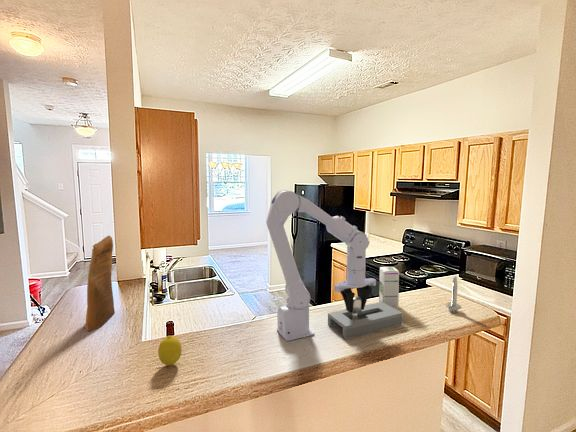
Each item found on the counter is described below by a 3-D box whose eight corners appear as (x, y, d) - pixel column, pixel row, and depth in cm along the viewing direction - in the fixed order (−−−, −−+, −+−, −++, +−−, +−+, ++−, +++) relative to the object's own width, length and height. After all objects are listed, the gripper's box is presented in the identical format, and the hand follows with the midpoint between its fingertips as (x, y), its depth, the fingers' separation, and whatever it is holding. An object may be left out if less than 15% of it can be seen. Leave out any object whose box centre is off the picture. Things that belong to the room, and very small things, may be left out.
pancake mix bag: (124, 307, 114) (119, 234, 110) (101, 332, 95) (93, 244, 92) (105, 309, 113) (99, 234, 109) (77, 334, 94) (69, 245, 91)
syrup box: (398, 309, 110) (400, 270, 108) (382, 309, 110) (383, 270, 109) (393, 303, 116) (395, 266, 114) (378, 303, 116) (379, 266, 114)
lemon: (174, 356, 82) (173, 328, 81) (186, 364, 78) (185, 334, 77) (155, 366, 77) (153, 336, 77) (166, 375, 74) (164, 344, 73)
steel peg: (353, 328, 95) (353, 301, 94) (345, 323, 98) (346, 296, 97) (363, 326, 96) (364, 299, 95) (356, 321, 100) (356, 294, 99)
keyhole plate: (345, 339, 90) (345, 326, 89) (327, 324, 99) (327, 313, 99) (402, 324, 99) (402, 312, 98) (381, 312, 108) (381, 301, 107)
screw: (452, 314, 106) (442, 309, 110) (464, 313, 107) (454, 308, 111) (454, 278, 104) (444, 274, 109) (466, 277, 105) (456, 273, 110)
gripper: (366, 262, 102) (365, 301, 103) (329, 267, 96) (328, 309, 97) (380, 268, 95) (379, 309, 97) (342, 274, 89) (341, 318, 91)
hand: (355, 309), depth 97 cm, fingers closed on steel peg, 4 cm apart
